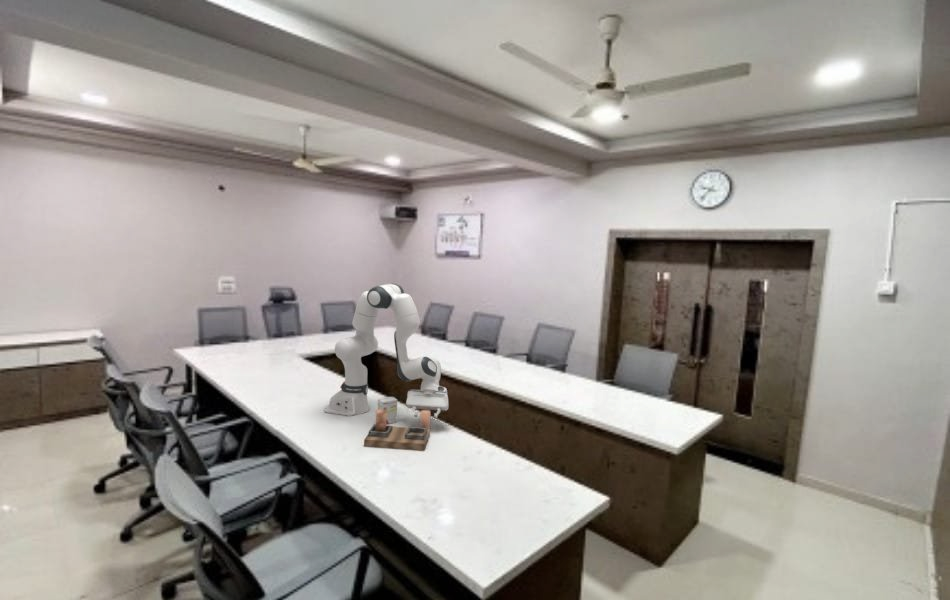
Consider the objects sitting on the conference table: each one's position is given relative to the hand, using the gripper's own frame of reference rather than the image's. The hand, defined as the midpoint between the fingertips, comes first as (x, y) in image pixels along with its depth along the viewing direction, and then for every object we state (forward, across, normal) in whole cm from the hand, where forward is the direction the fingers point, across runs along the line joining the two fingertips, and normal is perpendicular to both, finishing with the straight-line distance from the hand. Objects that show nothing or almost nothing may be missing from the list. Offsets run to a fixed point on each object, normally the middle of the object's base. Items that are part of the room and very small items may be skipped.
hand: (425, 417), depth 211 cm
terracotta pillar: (+5, 0, +5) cm, 7 cm away
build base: (+13, -10, -3) cm, 17 cm away
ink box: (-1, -20, +11) cm, 23 cm away
